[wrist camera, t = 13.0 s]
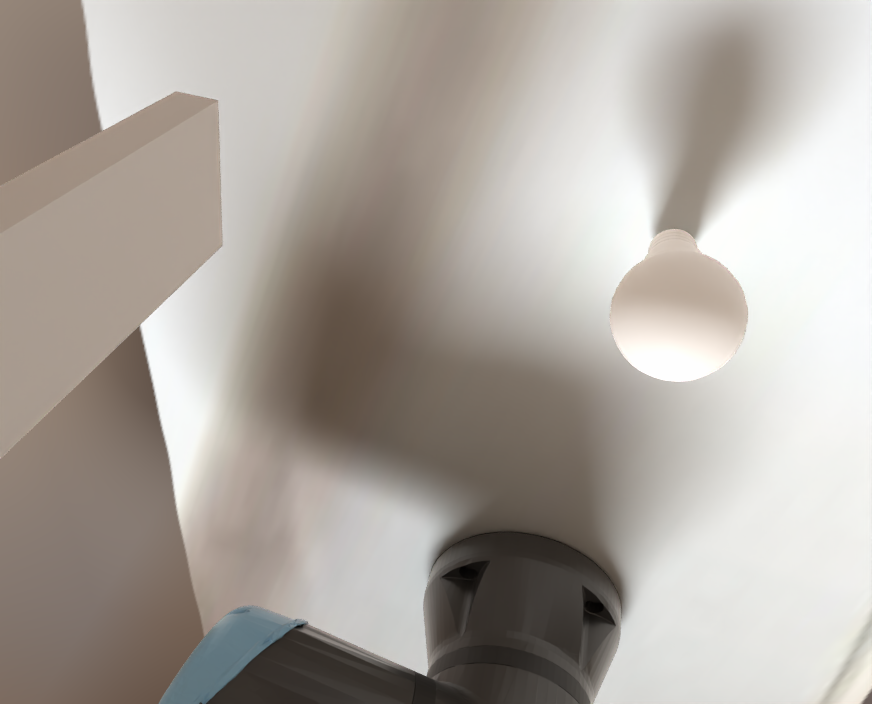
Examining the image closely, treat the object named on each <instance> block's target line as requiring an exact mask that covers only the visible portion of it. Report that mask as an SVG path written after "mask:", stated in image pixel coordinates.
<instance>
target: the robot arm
mask: <svg viewBox="0 0 872 704" xmlns="http://www.w3.org/2000/svg"><path fill="white" fill-rule="evenodd" d="M221 247H222V213H221V179H220V146H219V112H218V100H214V99H209V98H204V97H199V96H195V95H190V94H185V93H180V92H174V93H172V94H171V95H169V96H167V97H165V98H163V99H161V100H159V101H157V102H156V103H154V104H152V105H150V106H148V107H146V108H144V109H143V110H141V111H139V112H137V113H135V114H133V115H131V116H130V117H128V118H126V119H124V120H122V121H120V122H118V123H116V124H115V125H113V126H111V127H109V128H107V129H105V130H103V131H102V132H100V133H98V134H96V135H94V136H92V137H90V138H89V139H87V140H85V141H83V142H81V143H79V144H77V145H75V146H74V147H72V148H70V149H68V150H66V151H64V152H62V153H61V154H59V155H57V156H55V157H53V158H51V159H49V160H48V161H46V162H44V163H42V164H40V165H38V166H36V167H35V168H33V169H31V170H29V171H27V172H25V173H23V174H21V175H20V176H18V177H16V178H14V179H12V180H10V181H9V182H7V183H5V184H3V185H1V186H0V459H1V458H2V457H3V456H4V455H5V454H6V453H7V452H8V451H9V450H10V449H11V448H12V447H13V446H14V445H16V444H17V443H18V442H19V440H21V439H22V438H23V437H24V436H25V435H26V434H27V433H28V432H29V431H30V430H31V429H32V428H33V427H34V426H35V425H36V424H37V423H38V422H39V421H40V420H42V419H43V418H44V417H45V416H46V415H47V414H48V413H49V412H50V411H51V410H52V409H53V408H54V407H55V406H56V405H57V404H58V403H59V402H60V401H61V400H62V399H63V398H64V397H65V396H67V394H69V392H70V391H72V390H73V389H74V388H75V387H76V386H77V385H78V384H79V383H80V382H81V381H82V380H83V379H84V378H85V377H86V376H87V375H88V374H89V373H90V372H91V371H92V370H94V369H95V368H96V367H97V366H98V365H99V364H100V363H101V362H102V361H103V360H104V359H105V358H106V357H107V356H108V355H109V354H110V353H111V352H112V351H113V350H114V349H115V348H116V347H117V346H118V345H120V343H122V341H124V340H125V339H126V338H127V337H128V336H129V335H130V334H131V333H132V332H133V331H134V330H135V329H136V328H137V327H138V326H139V325H140V324H141V323H142V322H144V321H145V320H146V319H147V318H148V317H149V316H150V315H151V314H152V313H153V312H154V311H155V310H156V309H157V308H158V307H159V306H160V305H161V304H162V303H163V302H164V301H165V300H166V299H167V298H168V297H170V296H171V295H172V294H173V293H174V292H175V291H176V290H177V289H178V288H179V287H180V286H181V285H182V284H183V283H184V282H185V281H186V280H187V279H188V278H189V277H190V276H191V275H192V274H193V273H195V272H196V271H197V270H198V269H199V268H200V267H201V266H202V265H203V264H204V263H205V262H206V261H207V260H208V259H209V258H210V257H211V256H212V255H213V254H214V253H215V252H216V251H217V250H218V249H219V248H221ZM423 610H424V622H425V633H426V645H427V656H428V673H427V677H426V676H424V675H422V674H419V673H417V672H415V671H413V670H410V669H408V668H406V667H403V666H401V665H399V664H396V663H394V662H392V661H389V660H387V659H385V658H383V657H380V656H378V655H376V654H373V653H371V652H369V651H367V650H364V649H362V648H360V647H358V646H355V645H353V644H351V643H349V642H346V641H344V640H342V639H340V638H337V637H335V636H333V635H331V634H328V633H326V632H324V631H322V630H319V629H317V628H315V627H312V626H310V625H309V624H308V622H307V621H305V620H302V619H296V620H293V619H290V618H288V617H285V616H282V615H280V614H277V613H274V612H272V611H269V610H266V609H264V608H261V607H257V606H243V607H239V608H237V609H235V610H233V611H231V612H229V613H228V614H227V615H225V616H224V617H223V618H222V619H221V620H220V621H219V622H218V623H216V625H215V626H214V627H213V628H212V629H211V630H210V631H209V632H208V633H207V635H206V636H205V637H204V638H203V640H202V641H201V642H200V643H199V645H198V646H197V647H196V649H195V650H194V651H193V653H192V654H191V655H190V657H189V658H188V660H187V661H186V663H185V664H184V665H183V667H182V668H181V669H180V671H179V672H178V674H177V675H176V677H175V678H174V680H173V681H172V683H171V685H170V686H169V688H168V689H167V691H166V692H165V694H164V695H163V697H162V698H161V700H160V702H159V704H593V702H594V700H595V698H596V696H597V693H598V691H599V689H600V687H601V685H602V682H603V680H604V678H605V676H606V673H607V671H608V669H609V667H610V664H611V662H612V660H613V658H614V656H615V653H616V651H617V648H618V645H619V640H620V634H621V603H620V599H619V596H618V593H617V591H616V589H615V587H614V585H613V583H612V582H611V580H610V579H609V578H608V576H607V575H606V574H605V573H604V572H603V571H602V570H601V569H600V568H599V567H598V566H597V565H596V564H595V563H594V562H592V561H591V560H590V559H588V558H587V557H586V556H584V555H583V554H581V553H579V552H578V551H576V550H574V549H572V548H570V547H568V546H566V545H564V544H561V543H559V542H556V541H553V540H550V539H547V538H543V537H539V536H535V535H529V534H522V533H508V532H503V533H489V534H483V535H478V536H474V537H471V538H468V539H465V540H463V541H461V542H458V543H457V544H455V545H453V546H452V547H450V548H449V549H447V550H446V551H445V552H444V553H443V554H442V555H441V556H440V557H439V558H438V559H437V561H436V562H435V564H434V566H433V568H432V570H431V573H430V577H429V580H428V584H427V587H426V591H425V595H424V603H423Z"/></svg>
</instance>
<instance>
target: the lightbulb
mask: <svg viewBox="0 0 872 704" xmlns="http://www.w3.org/2000/svg"><path fill="white" fill-rule="evenodd" d="M747 322H748V308H747V304H746V299H745V295H744V292H743V290H742V288H741V286H740V284H739V282H738V281H737V279H736V278H735V277H734V276H733V275H732V274H731V272H730V271H729V270H728V269H727V268H726V267H725V266H724V265H722V264H721V263H720V262H718V261H717V260H715V259H713V258H711V257H709V256H707V255H704V254H702V253H701V251H700V250H699V249H698V247H697V245H696V242H695V240H694V238H693V237H692V236H691V235H690V234H689V233H688V232H686V231H684V230H680V229H668V230H664V231H662V232H660V233H659V234H657V235H656V236H655V237H654V238H653V240H652V241H651V243H650V246H649V250H648V254H647V256H646V257H645V259H644V260H643V261H641V262H640V263H638V264H637V265H635V266H634V267H633V268H632V269H631V270H630V271H629V272H628V273H627V274H626V275H625V276H624V278H623V279H622V281H621V282H620V284H619V285H618V287H617V289H616V291H615V293H614V296H613V298H612V302H611V309H610V326H611V331H612V334H613V337H614V340H615V343H616V345H617V347H618V348H619V350H620V352H621V353H622V354H623V356H624V357H625V358H626V359H627V360H628V361H629V362H630V364H631V365H632V366H634V367H635V368H637V369H638V370H639V371H641V372H643V373H645V374H647V375H649V376H651V377H654V378H658V379H661V380H665V381H673V382H680V381H690V380H695V379H699V378H701V377H704V376H707V375H709V374H711V373H713V372H714V371H716V370H718V369H720V368H721V367H722V366H723V365H725V364H726V363H727V362H728V361H729V360H730V359H731V358H732V356H733V355H734V354H735V353H736V351H737V349H738V348H739V346H740V344H741V342H742V340H743V338H744V334H745V331H746V327H747Z"/></svg>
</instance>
